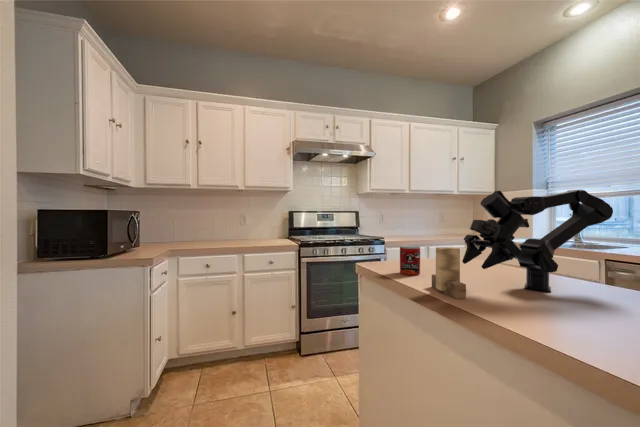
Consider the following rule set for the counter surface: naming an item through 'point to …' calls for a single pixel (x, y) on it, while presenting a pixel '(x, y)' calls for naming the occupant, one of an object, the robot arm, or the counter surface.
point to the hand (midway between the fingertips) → (472, 265)
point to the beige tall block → (447, 266)
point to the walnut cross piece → (452, 288)
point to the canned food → (410, 260)
